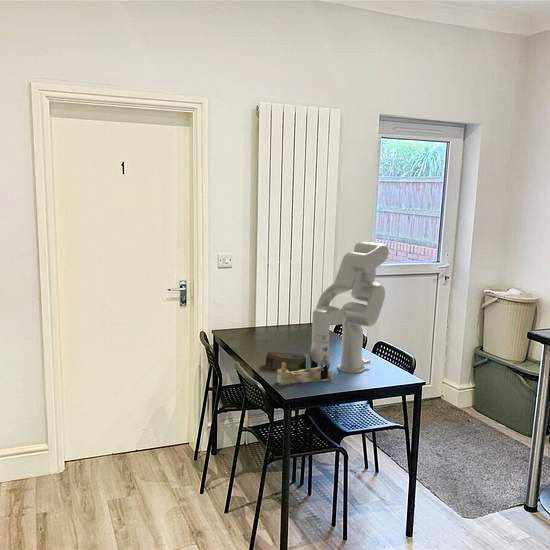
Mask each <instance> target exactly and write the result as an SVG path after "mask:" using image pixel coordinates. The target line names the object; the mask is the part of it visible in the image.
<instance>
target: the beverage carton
mask: <svg viewBox="0 0 550 550" xmlns="http://www.w3.org/2000/svg"><path fill="white" fill-rule="evenodd" d="M282 362H284V363H286V369H287V370H288V371H297V370H304V369H308V368H307V367H308V354H306V353H303V354H301V353H289V352H278V351H267V354H266V357H265V369H267V368H269V370H278V369H281V364H282Z"/></svg>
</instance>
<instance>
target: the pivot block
mask: <svg viewBox="0 0 550 550" xmlns="http://www.w3.org/2000/svg"><path fill="white" fill-rule="evenodd" d="M277 383H279V384H278V385H279V386H282V385H281V374H280V373H278V382H277Z"/></svg>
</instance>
